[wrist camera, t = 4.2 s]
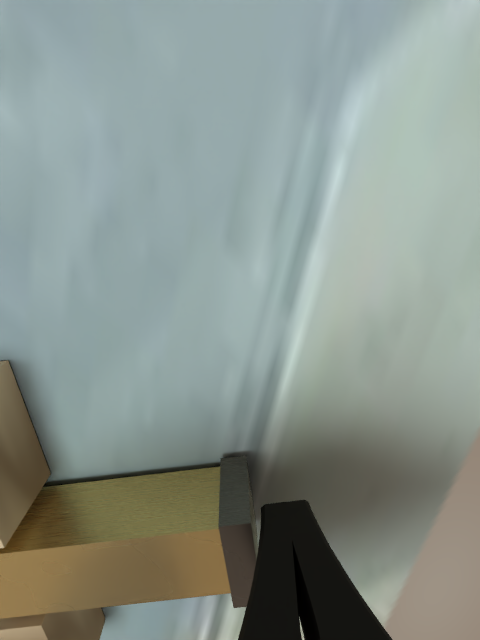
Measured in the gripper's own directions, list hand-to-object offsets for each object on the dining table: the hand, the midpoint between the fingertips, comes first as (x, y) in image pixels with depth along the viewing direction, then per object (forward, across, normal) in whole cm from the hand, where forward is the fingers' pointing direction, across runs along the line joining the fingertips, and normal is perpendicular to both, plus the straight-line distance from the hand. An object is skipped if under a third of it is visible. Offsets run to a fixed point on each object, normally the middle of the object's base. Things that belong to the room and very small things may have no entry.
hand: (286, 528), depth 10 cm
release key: (+1, +5, 0) cm, 5 cm away
